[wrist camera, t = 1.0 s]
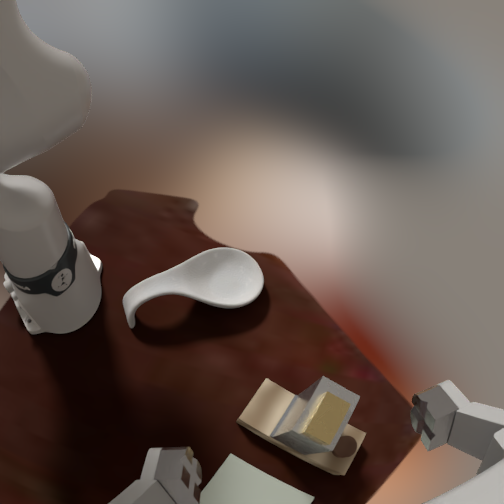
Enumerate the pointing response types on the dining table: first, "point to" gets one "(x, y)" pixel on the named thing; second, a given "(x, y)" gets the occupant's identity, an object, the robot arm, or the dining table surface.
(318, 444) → the grey tall block
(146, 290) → the spoon rest
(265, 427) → the block plane
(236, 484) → the mat
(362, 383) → the dining table surface
